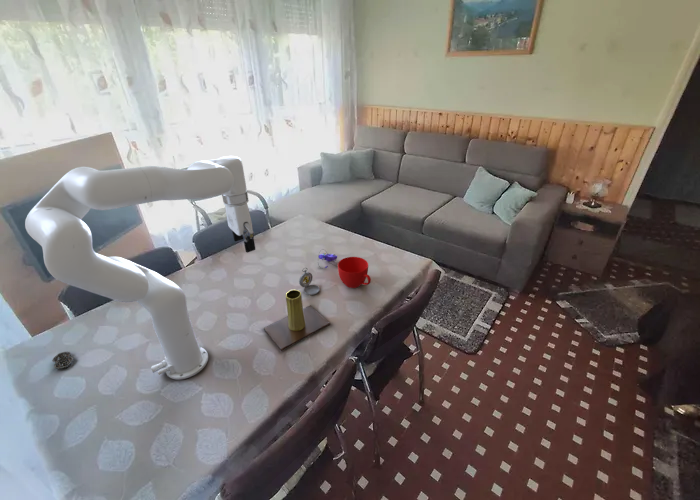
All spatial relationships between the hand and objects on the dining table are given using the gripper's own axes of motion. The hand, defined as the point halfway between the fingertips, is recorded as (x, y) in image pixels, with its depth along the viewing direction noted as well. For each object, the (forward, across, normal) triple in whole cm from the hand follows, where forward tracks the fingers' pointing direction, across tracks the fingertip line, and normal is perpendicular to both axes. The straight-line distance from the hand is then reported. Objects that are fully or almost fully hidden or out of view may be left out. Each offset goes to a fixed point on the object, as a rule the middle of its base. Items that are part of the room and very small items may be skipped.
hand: (244, 245), depth 109 cm
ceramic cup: (+31, +10, +41) cm, 52 cm away
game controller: (+31, -11, +42) cm, 53 cm away
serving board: (+30, +16, +8) cm, 35 cm away
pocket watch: (+31, 0, +24) cm, 39 cm away
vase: (+30, +16, +8) cm, 34 cm away
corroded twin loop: (+30, -18, -59) cm, 69 cm away
